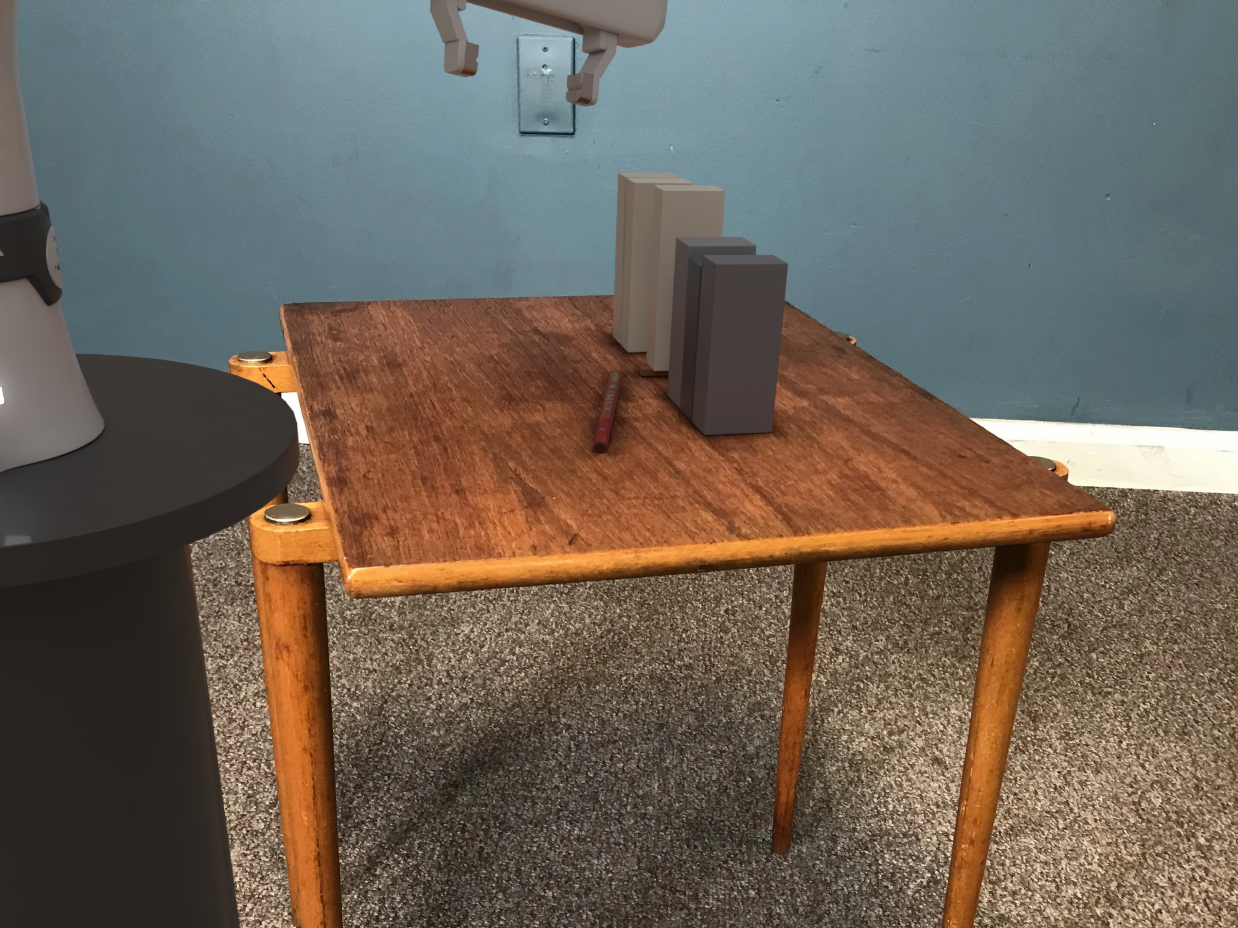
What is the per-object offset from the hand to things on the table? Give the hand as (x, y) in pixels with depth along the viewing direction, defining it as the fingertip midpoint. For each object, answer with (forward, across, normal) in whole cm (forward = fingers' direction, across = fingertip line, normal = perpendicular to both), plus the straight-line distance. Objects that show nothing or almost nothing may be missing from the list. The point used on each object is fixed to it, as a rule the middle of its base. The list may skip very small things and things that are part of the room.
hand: (522, 89), depth 83 cm
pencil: (+21, +10, +1) cm, 23 cm away
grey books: (+20, +17, -3) cm, 26 cm away
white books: (+16, +23, +12) cm, 30 cm away
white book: (+17, +21, +6) cm, 27 cm away
